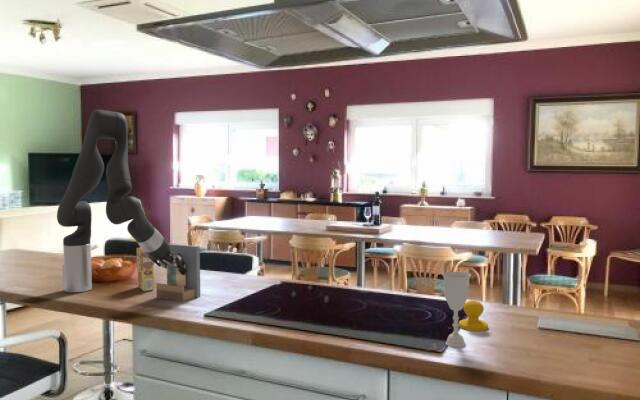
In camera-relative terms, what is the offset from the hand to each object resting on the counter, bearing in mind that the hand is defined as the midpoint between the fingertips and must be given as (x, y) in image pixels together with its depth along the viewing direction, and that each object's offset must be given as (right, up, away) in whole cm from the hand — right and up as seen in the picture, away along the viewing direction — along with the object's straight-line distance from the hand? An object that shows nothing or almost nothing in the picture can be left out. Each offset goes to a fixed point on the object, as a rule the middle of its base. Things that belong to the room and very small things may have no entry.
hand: (178, 272), depth 187 cm
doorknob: (+94, -11, -36) cm, 101 cm away
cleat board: (-1, -9, -1) cm, 9 cm away
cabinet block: (-1, -5, -1) cm, 5 cm away
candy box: (-16, -8, +13) cm, 22 cm away
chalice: (+85, -12, -51) cm, 100 cm away
